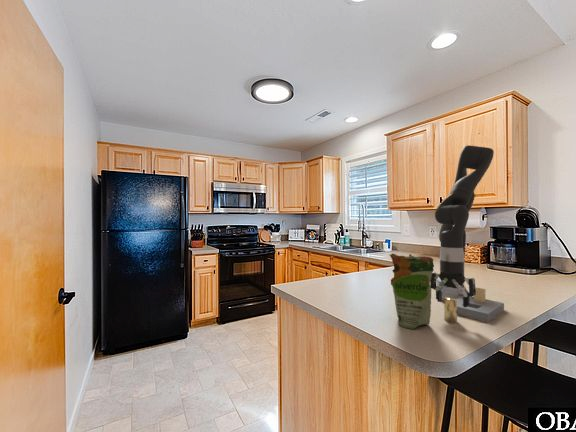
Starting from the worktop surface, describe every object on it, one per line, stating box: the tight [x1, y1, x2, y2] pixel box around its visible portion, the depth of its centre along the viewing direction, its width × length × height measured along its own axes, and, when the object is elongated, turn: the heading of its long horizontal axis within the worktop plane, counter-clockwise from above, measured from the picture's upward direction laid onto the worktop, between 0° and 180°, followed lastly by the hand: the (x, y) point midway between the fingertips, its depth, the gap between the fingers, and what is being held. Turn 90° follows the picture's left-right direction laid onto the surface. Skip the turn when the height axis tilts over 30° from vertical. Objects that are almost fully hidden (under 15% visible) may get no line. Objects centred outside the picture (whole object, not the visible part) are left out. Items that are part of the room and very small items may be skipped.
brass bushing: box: [443, 297, 458, 324], centre depth 98 cm, size 4×4×8 cm
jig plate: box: [457, 287, 505, 323], centre depth 108 cm, size 14×20×8 cm
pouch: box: [389, 253, 435, 330], centre depth 94 cm, size 11×12×25 cm
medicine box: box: [436, 279, 460, 301], centre depth 122 cm, size 8×4×9 cm, turn 71°
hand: (452, 304), depth 97 cm, fingers open, 8 cm apart
